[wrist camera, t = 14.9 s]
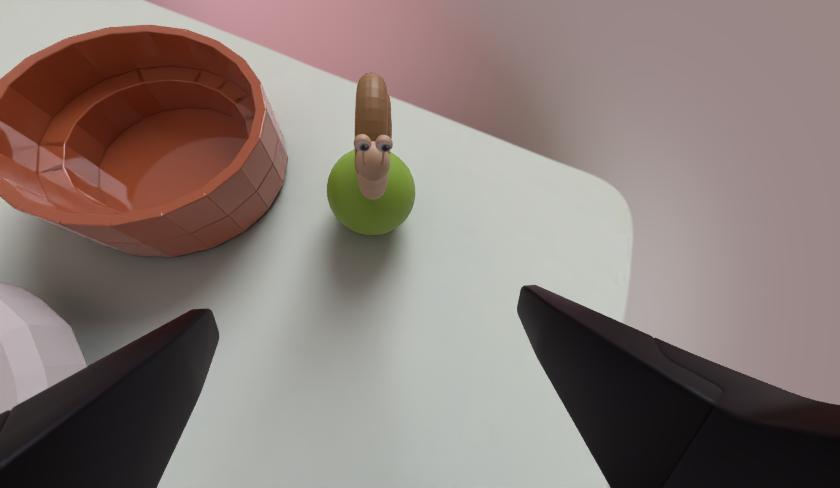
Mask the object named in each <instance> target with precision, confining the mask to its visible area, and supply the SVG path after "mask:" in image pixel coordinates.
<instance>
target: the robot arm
mask: <svg viewBox="0 0 840 488" xmlns="http://www.w3.org/2000/svg"><path fill="white" fill-rule="evenodd" d="M517 312H518V315H519V318H520V320H521V322H522V325H523V327H524V329H525V331H526V334H527V336H528V338H529V341H530V343H531V345H532V348H533V350H534V352H535V354H536V356H537V358H538V360H539V362H540V364H541V365H542V367H543V369H544V371H545V372H546V374H547V376H548V378H549V379H550V381H551V383H552V385H553V387H554V388H555V390H556V392H557V394H558V395H559V397H560V399H561V401H562V402H563V404H564V406H565V408H566V409H567V411H568V413H569V415H570V417H571V418H572V420H573V422H574V424H575V425H576V427H577V429H578V431H579V432H580V434H581V436H582V438H583V440H584V441H585V443H586V445H587V447H588V448H589V450H590V452H591V454H592V455H593V457H594V459H595V461H596V462H597V464H598V466H599V468H600V470H601V471H602V473H603V475H604V477H605V478H606V480H607V482H608V484H609V485H610V487H611V488H840V405H836V404H829V403H825V402H820V401H815V400H812V399H809V398H805V397H802V396H799V395H796V394H794V393H791V392H788V391H786V390H783V389H781V388H778V387H775V386H773V385H770V384H768V383H765V382H763V381H760V380H757V379H755V378H752V377H750V376H747V375H745V374H742V373H740V372H737V371H734V370H732V369H729V368H727V367H724V366H722V365H719V364H717V363H714V362H712V361H709V360H707V359H704V358H702V357H699V356H697V355H694V354H692V353H689V352H687V351H685V350H683V349H680V348H678V347H676V346H673V345H671V344H669V343H666V342H664V341H661V340H659V339H657V338H653V337H652V336H650V335H648V334H645V333H643V332H641V331H639V330H637V329H634V328H632V327H630V326H627V325H625V324H623V323H621V322H618V321H616V320H614V319H612V318H609V317H607V316H605V315H603V314H600V313H598V312H596V311H593V310H591V309H589V308H587V307H584V306H582V305H580V304H578V303H575V302H573V301H571V300H568V299H566V298H564V297H562V296H559V295H557V294H555V293H553V292H550V291H548V290H546V289H543V288H541V287H539V286H537V285H527V286H523V287H522V288H521V291H520V296H519V301H518V306H517ZM218 341H219V331H218V328H217V325H216V322H215V318H214V315H213V313H212V311H211V310H210V309H193V310H190V311H188V312H187V313H185V314H183V315H181V316H179V317H177V318H176V319H174V320H172V321H170V322H168V323H166V324H165V325H163V326H161V327H159V328H157V329H155V330H154V331H152V332H150V333H148V334H146V335H144V336H143V337H141V338H139V339H137V340H135V341H133V342H132V343H130V344H128V345H126V346H124V347H122V348H121V349H119V350H117V351H115V352H113V353H111V354H110V355H108V356H106V357H104V358H102V359H100V360H98V361H97V362H95V363H93V364H91V365H89V366H87V367H86V368H84V369H82V370H80V371H78V372H76V373H75V374H73V375H71V376H69V377H67V378H65V379H64V380H62V381H60V382H58V383H56V384H54V385H53V386H51V387H49V388H47V389H45V390H43V391H42V392H40V393H38V394H36V395H34V396H32V397H31V398H29V399H27V400H25V401H23V402H21V403H20V404H18V405H16V406H14V407H13V408H12V410H7V411H5V412H3V413H1V414H0V488H157V486H158V483H159V481H160V479H161V477H162V475H163V473H164V471H165V469H166V466H167V464H168V462H169V460H170V458H171V456H172V454H173V452H174V449H175V447H176V445H177V443H178V441H179V439H180V437H181V434H182V432H183V430H184V428H185V426H186V424H187V422H188V420H189V417H190V415H191V413H192V411H193V409H194V407H195V405H196V402H197V400H198V398H199V396H200V393H201V391H202V388H203V385H204V382H205V379H206V376H207V373H208V371H209V368H210V365H211V362H212V359H213V356H214V353H215V350H216V347H217V344H218Z"/></svg>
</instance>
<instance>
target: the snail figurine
mask: <svg viewBox="0 0 840 488" xmlns="http://www.w3.org/2000/svg"><path fill="white" fill-rule="evenodd" d="M391 135H392V123H391V104H390V98H389V95H388V94H387V88H386V83H385V81H384V79H383V78H382V77H381V76H379V75H378V74H376V73H372V72H371V73H366V74H365V75H363V76H362V77H361V78H360V80H359V82H358V85H357V92H356V109H355V139H354V146H355V150H353V151H351V152H349V153H347V154H345V155H344V156H343V157H342V158H340V159H339V160H338V162H337V163H336V164H335V165H334V167H333V169H332V171H331V173H330V175H329V178H328V183H327V197H328V202H329V205H330V207H331V210H332V212H333V213H334V215H335V216H336V218H337V219H338V220H339V221H340V222H341V223H342V224H343V225H344V226H346V227H347V228H349V229H350V230H352V231H354V232H357V233H360V234H364V235H381V234H385V233H388V232H390V231H392V230H394V229H396V228H397V227H398V226H400V225H401V224H402V223H403V222H404V221H405V220H406V218H407V217H408V215H409V214H410V212H411V210H412V207H413V204H414V199H415V185H414V181H413V177H412V175H411V173H410V171H409V169H408V167H407V166H406V165H405V163H404V162H403V161H402V160H401V159H400V158H399V157H397V156H396V155H395V154H393V153H391V152H390V150H391V148H392V140H391Z"/></svg>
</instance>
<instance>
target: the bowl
mask: <svg viewBox="0 0 840 488" xmlns="http://www.w3.org/2000/svg"><path fill="white" fill-rule="evenodd" d="M287 160H288V157H287V152H286V148H285V143H284V139H283V135H282V133H281V130H280V128H279V125H278V123H277V120H276V118H275V116H274V113H273V111H272V108H271V106H270V103H269V101H268V99H267V96H266V94H265V91H264V89H263V86H262V84H261V82H260V80H259V79H258V78H257V76H256V75H255V73H254V72H253V71H252V69H251V68H250V66H249V65H248V64H247V62H246V61H245V60H244V59H243V58H242V57H240V56H239V55H237V54H236V53H235V52H233V51H232V50H230V49H229V48H227V47H226V46H225V45H223V44H222V43H220V42H219V41H217V40H214V39H211V38H208V37H206V36H203V35H200V34H197V33H195V32H192V31H189V30H186V29H178V28H171V27H163V26H155V25H138V26H123V27H109V28H104V29H100V30H96V31H92V32H88V33H84V34H81V35H77V36H73V37H69V38H67V39H64V40H62V41H60V42H58V43H55V44H53V45H51V46H49V47H47V48H45V49H43V50H41V51H39V52H37V53H35V54H33V55H31V56H29V57H27V58H25V59H24V60H23V61H22V62H21V63H19V64H18V65H17V66H16V67H15V68H13V69H12V70H11V71H10V72H8V73H7V74H6V75H5V76H4V77H2V78H1V79H0V197H2V198H3V199H4V200H5V201H6V202H7V203H9V204H10V205H11V206H12V207H13V208H15V209H17V210H19V211H21V212H23V213H26V214H28V215H31V216H33V217H36V218H38V219H41V220H43V221H45V222H48V223H50V224H53V225H55V226H58V227H60V228H62V229H65V230H67V231H70V232H72V233H75V234H77V235H80V236H82V237H85V238H87V239H89V240H92V241H94V242H97V243H99V244H102V245H105V246H107V247H110V248H113V249H116V250H119V251H122V252H125V253H128V254H131V255H135V256H157V257H176V256H180V255H184V254H189V253H193V252H197V251H202V250H206V249H210V248H213V247H215V246H217V245H219V244H221V243H223V242H225V241H227V240H229V239H231V238H233V237H235V236H237V235H239V234H240V233H242V232H244V231H245V230H246V229H247V228H249V227H250V226H251V225H252V224H253V223H254V222H255V221H256V220H257V219H258V218H260V217H261V216H262V215H263V214H264V213H265V212H266V211H267V210H268V208H269V207H270V206H271V204H272V202H273V201H274V199H275V197H276V196H277V194H278V192H279V190H280V189H281V187H282V185H283V183H284V177H285V171H286V166H287Z"/></svg>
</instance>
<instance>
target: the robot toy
mask: <svg viewBox="0 0 840 488" xmlns="http://www.w3.org/2000/svg"><path fill="white" fill-rule="evenodd" d="M86 367H87V364H86V361H85V359H84V356H83V354H82V352H81V349H80V347H79V345H78V342H77V340H76V338H75V335H74V333H73V331H72V328H71V326H70V325H69V324H68V323H67V322H65V321H64V320H63V319H62V318H61V317H60V316H59V315H58V314H57V313H56V312H55V311H53V310H52V309H51V308H50V307H49V306H48V305H47V304H46V303H45V302H44V301H43V300H41V299H40V298H38V297H36V296H35V295H33V294H32V293H30V292H29V291H27V290H25V289H23V288H21V287H19V286H17V285H12V284H6V283H1V282H0V414H1V413H3V412H5V411H7V410H12V408H13V407H14V406H16V405H18V404H20V403H21V402H23V401H25V400H27V399H29V398H31V397H32V396H34V395H36V394H38V393H40V392H42V391H43V390H45V389H47V388H49V387H51V386H53V385H54V384H56V383H58V382H60V381H62V380H64V379H65V378H67V377H69V376H71V375H73V374H75V373H76V372H78V371H80V370H82V369H84V368H86Z"/></svg>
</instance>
